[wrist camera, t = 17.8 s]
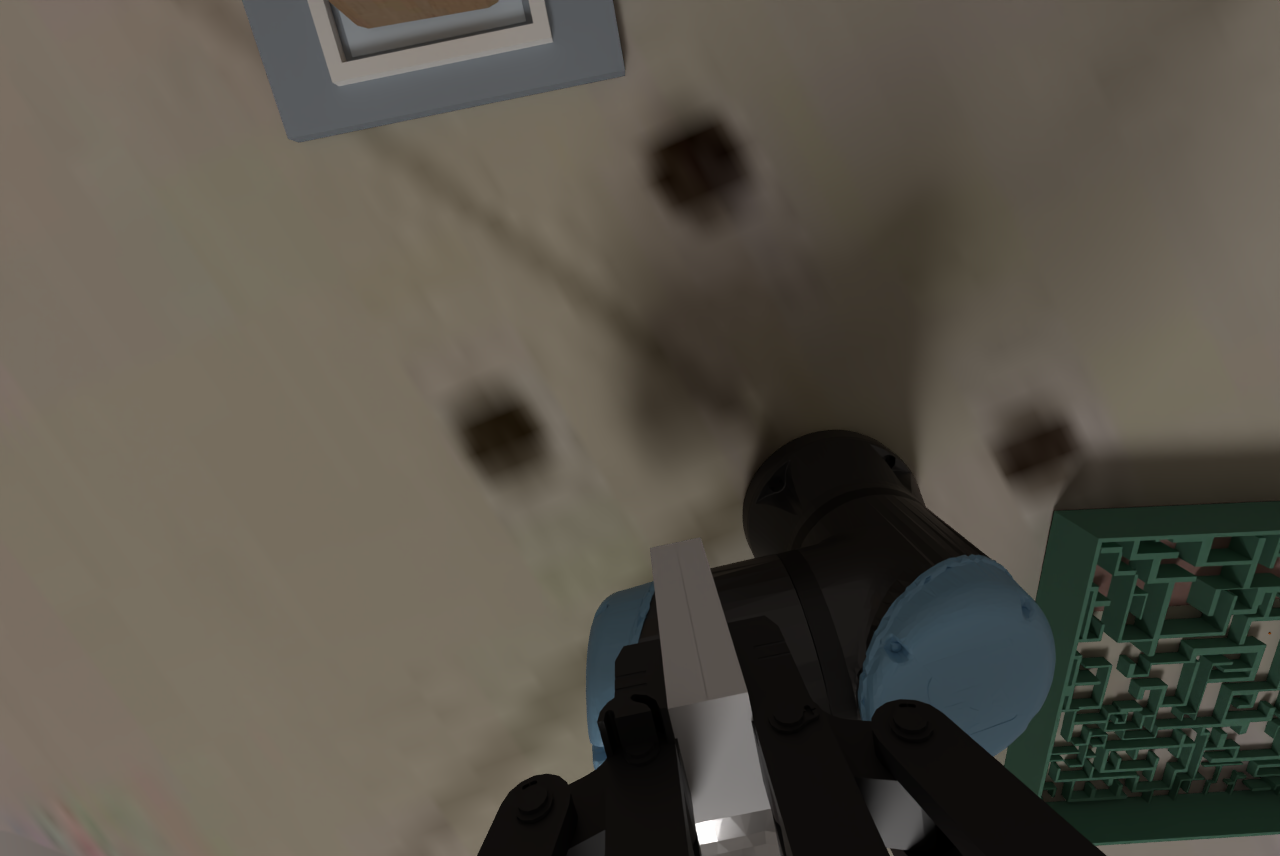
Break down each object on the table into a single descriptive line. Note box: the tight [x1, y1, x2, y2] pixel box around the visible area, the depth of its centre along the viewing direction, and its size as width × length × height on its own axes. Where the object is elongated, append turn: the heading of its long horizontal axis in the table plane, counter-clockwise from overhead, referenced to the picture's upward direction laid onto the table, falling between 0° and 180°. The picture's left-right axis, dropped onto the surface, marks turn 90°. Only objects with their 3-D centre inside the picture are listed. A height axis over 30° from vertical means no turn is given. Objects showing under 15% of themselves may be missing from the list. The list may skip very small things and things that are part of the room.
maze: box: [1004, 501, 1280, 846], centre depth 58 cm, size 35×35×6 cm
